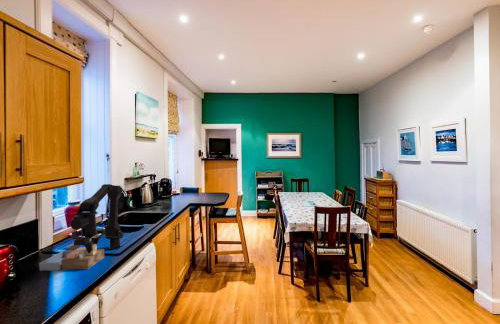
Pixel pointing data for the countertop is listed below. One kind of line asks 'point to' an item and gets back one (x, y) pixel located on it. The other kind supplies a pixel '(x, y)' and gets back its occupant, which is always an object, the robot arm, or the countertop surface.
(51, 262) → the box
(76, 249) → the tile cream
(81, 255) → the scraper
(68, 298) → the countertop surface
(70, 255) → the tile terracotta
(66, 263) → the brown square tray
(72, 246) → the cleaver
